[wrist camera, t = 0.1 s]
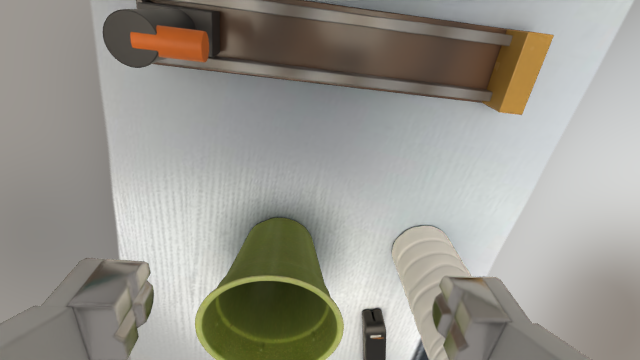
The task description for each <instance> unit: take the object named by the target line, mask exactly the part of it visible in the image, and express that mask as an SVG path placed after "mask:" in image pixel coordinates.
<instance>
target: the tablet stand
mask: <svg viewBox="0 0 640 360" xmlns="http://www.w3.org/2000/svg"><path fill="white" fill-rule="evenodd" d="M362 321H363V360H385V358H386V329H385V324H384V319H383V315H382V312H381V310H380V309H375V310H373V311H371V310H365V311H363V313H362Z"/></svg>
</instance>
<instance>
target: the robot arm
mask: <svg viewBox="0 0 640 360" xmlns="http://www.w3.org/2000/svg"><path fill="white" fill-rule="evenodd" d="M149 275H150V268H149V264H148V263H147V262H144V261H130V260H114V259H95V258H86V259H83V260H81V261H80V262H79V263H78V264H77V265H76V267H75V268H74V269H73V270H72V271H71V272H70V273H69V275H68V276H67V277H66V278H65V279H64V280H63V282H62V283H61V284H60V285H59V286H58V287H57V288H56V289H55V291H54V292H53V293H52V294H51V295H50V296H49V297H48V298H47V299H46V301H45V302H44V303H43V304H42V305H41V306H33V307H31V308H29V309H27V310H25V311H24V312H22V313H19V314H17V315H16V316H14V317H12V318H10V319H8V320H6V321H4V322H2V323H0V360H127V359H128V357H129V355H130V353H131V351H132V349H133V347H134V345H135V343H136V341H137V339H138V337H139V336H138V331H137V328H138V327H140V326H141V325H143V324H144V323H145V322H146V321H147V319H148V317H149V315H150V313H151V309H152V305H153V298H154V291H153V286H152V285H151V284H150V283H149V282H148V281H147V279H148V277H149ZM439 287H440V289H441V291H442V292H441V293H440V294H439V295H437V296H436V297H435V299H434V303H433V306H432V316H433V321H434V324H435V327H436V330H437V332H439V333H440V334H441V335H442V336H443V337H444V338H445V341H444V344H443V347H444V349H445V352H446V354H447V356H448V359H449V360H592V359H590V358H589V357H587V356H586V355H584V354H582V353H581V352H580V351H578V350H576V349H575V348H573V347H572V346H570V345H569V344H568V343H566V342H565V341H563V340H561V339H560V338H558V337H557V336H555V335H554V334H553V333H551V332H550V331H548V330H547V329H545V328H544V327H542V326H541V325H539V324H536V323H535V324H534V323H532V322H531V321H530V320H529V318H528V317H527V316H526V314H525V313H524V312H523V310H522V309H521V307H520V306H519V305H518V303H517V302H516V300H515V299H514V298H513V296H512V295H511V293H510V292H509V291H508V289H507V288H506V287H505V285H504V284H503V282H502V281H501V280H500V279H498V278H497V277H471V276H444V277H443V278H442V279H441V282H440V285H439Z"/></svg>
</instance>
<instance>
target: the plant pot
mask: <svg viewBox="0 0 640 360" xmlns="http://www.w3.org/2000/svg"><path fill="white" fill-rule="evenodd" d="M195 328H196V334H197V337H198V339H199V341H200V343H201V344H202V346H203V347H204V348H205V350H206V351H207V352H208V353H209V354H210V355H211V356H212V357H214V358H215V359H216V360H325V359H327V358H328V357H329V356H330V355H331V354H332V353H333V352H334V351H335V349H336V348H337V347H338V345H339V343H340V341H341V339H342V336H343V330H344V323H343V318H342V315H341V312H340V310H339V308H338V307H337V305H336V303H335V302H334V301H333V300H332V299H331V298H330V294H329V292H328V289H327V288H326V286H325V284H324V280H323V277H322V273H321V269H320V266H319V262H318V258H317V255H316V251H315V247H314V244H313V240H312V237H311V236H310V234H309V232H308V231H307V229H306V228H305V227H304V226H302V225H301V224H299V223H298V222H296V221H294V220H291V219H287V218H271V219H269V220H266V221H264V222H261V223H259V224H257V225H256V226H254V227H253V228H252V230H251V231H250V233H249V234H248V236H247V238H246V240H245V242H244V244H243V245H242V247H241V249H240V251H239V253H238V255H237V257H236V258H235V260H234V262H233V264H232V266H231V268H230V270H229V271H228V273H227V275H226V277H225V278H224V279H223V280H222V281H221V282H220V284H219V285H218V287H217V288H216V289H215V290H214V291H212V292H211V293H210V294H209V295H208V296H207V297H206V298H205V299H204V301H203V302H202V304H201V305H200V307H199V309H198V311H197V314H196V318H195Z"/></svg>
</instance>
